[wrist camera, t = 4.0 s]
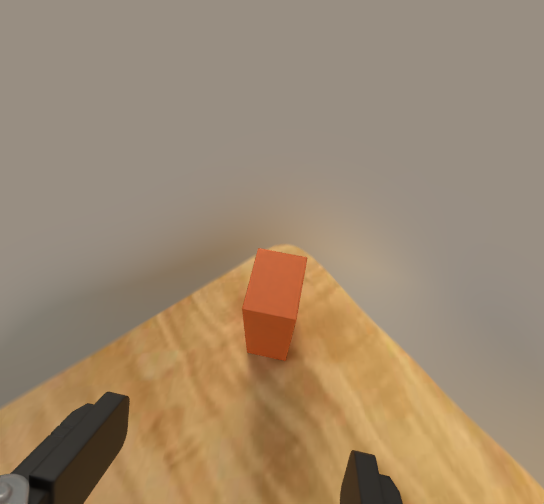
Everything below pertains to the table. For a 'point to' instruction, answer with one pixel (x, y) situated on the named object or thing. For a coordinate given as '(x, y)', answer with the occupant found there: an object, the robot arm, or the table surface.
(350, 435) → the table surface
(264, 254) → the orange block
